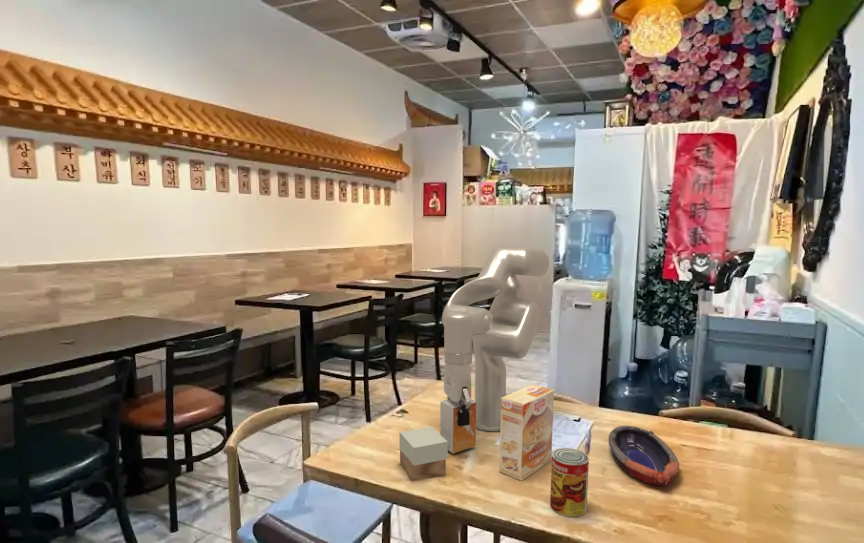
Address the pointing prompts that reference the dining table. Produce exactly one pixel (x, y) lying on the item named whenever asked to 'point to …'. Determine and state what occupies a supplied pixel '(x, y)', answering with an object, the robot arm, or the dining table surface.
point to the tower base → (423, 468)
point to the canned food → (569, 482)
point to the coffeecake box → (526, 431)
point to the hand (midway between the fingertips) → (458, 418)
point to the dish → (643, 455)
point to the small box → (450, 430)
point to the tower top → (423, 445)
